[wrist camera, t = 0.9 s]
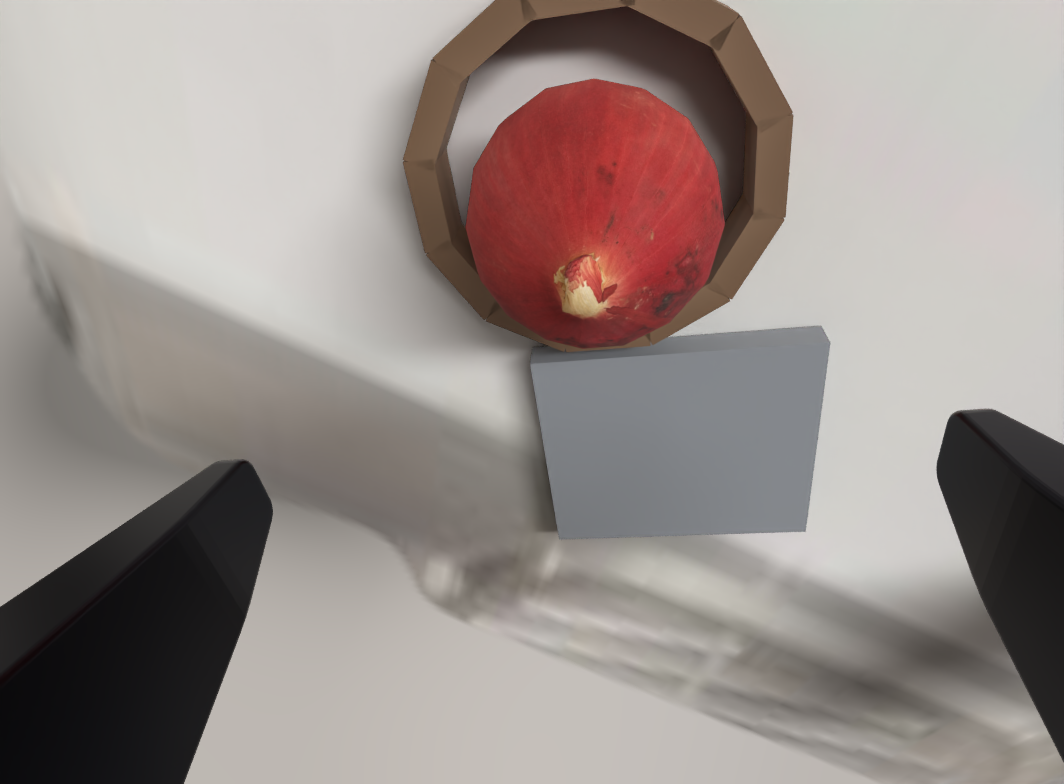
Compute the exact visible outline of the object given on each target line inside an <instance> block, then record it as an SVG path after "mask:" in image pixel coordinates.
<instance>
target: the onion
mask: <svg viewBox="0 0 1064 784" xmlns="http://www.w3.org/2000/svg"><path fill="white" fill-rule="evenodd" d="M724 226H725V221H724V214H723V207H722V200H721V193H720V185H719V178H718V171H717V168H716V165H715V162H714V160H713V159H712V157H711V155H710V154H709V152H708V150H707V149H706V147H705V145H704V144H703V142H702V140H701V139H700V137H699V135H698V134H697V132H696V130H695V129H694V127H693V125H692V124H691V122H690V121H689V119H688V118H687V117H685V116H684V115H682V114H681V113H679V112H678V111H676V110H675V109H673V108H672V107H670V106H669V105H667V104H666V103H664V102H663V101H661V100H660V99H658V98H657V97H656V96H654V95H653V94H651V93H650V92H648V91H647V90H645V89H642V88H638V87H634V86H629V85H624V84H619V83H614V82H609V81H604V80H599V79H590V80H585V81H580V82H575V83H570V84H565V85H560V86H555V87H551V88H546V89H544V90H543V91H542V92H540V93H539V94H538V95H537V96H535V97H534V98H533V99H531V100H530V101H529V102H527V103H526V104H525V105H523V106H522V107H521V108H519V109H518V110H517V111H515V112H514V113H513V114H511V115H510V116H509V117H507V118H506V119H505V120H504V121H503V122H502V123H501V124H500V125H499V126H498V127H497V129H496V131H495V133H494V134H493V136H492V138H491V139H490V141H489V143H488V144H487V146H486V148H485V150H484V151H483V153H482V155H481V156H480V158H479V160H478V161H477V163H476V165H475V166H474V168H473V176H472V183H471V191H470V198H469V206H468V213H467V220H466V227H465V228H466V231H467V235H468V239H469V242H470V246H471V250H472V253H473V257H474V261H475V264H476V268H477V272H478V274H479V277H480V280H481V282H482V283H483V284H484V285H485V287H486V288H487V289H488V291H489V292H490V293H491V295H492V296H493V297H494V299H495V300H496V301H497V302H498V304H499V305H500V306H501V308H502V309H503V310H504V312H505V313H506V314H507V315H508V316H509V317H511V318H512V319H514V320H515V321H517V322H518V323H520V324H522V325H523V326H525V327H526V328H528V329H529V330H531V331H533V332H534V333H536V334H537V335H539V336H541V337H542V338H544V339H545V340H549V341H553V342H557V343H561V344H565V345H570V346H574V347H578V348H582V349H586V348H599V347H611V346H623V345H626V344H628V343H630V342H632V341H634V340H636V339H638V338H640V337H642V336H644V335H646V334H648V333H650V332H652V331H654V330H656V329H658V328H660V327H662V326H664V325H666V324H668V323H670V322H671V321H672V320H673V318H674V317H675V316H676V315H677V314H678V313H679V312H680V311H681V310H682V309H683V308H684V306H685V305H686V304H687V303H688V302H689V301H690V300H691V299H692V298H693V297H694V296H695V294H696V293H697V292H698V291H699V290H700V289H701V288H702V287H703V286H704V285H705V283H706V281H707V279H708V278H709V275H710V272H711V269H712V265H713V262H714V259H715V255H716V252H717V249H718V245H719V242H720V239H721V235H722V232H723V229H724Z"/></svg>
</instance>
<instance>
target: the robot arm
mask: <svg viewBox="0 0 1064 784" xmlns="http://www.w3.org/2000/svg"><path fill="white" fill-rule="evenodd" d="M937 478H938V482H939V485H940V488H941V491H942V494H943V496H944V499H945V502H946V505H947V507H948V510H949V513H950V516H951V518H952V521H953V524H954V527H955V530H956V532H957V535H958V538H959V541H960V543H961V546H962V549H963V552H964V554H965V557H966V560H967V563H968V565H969V568H970V571H971V574H972V576H973V579H974V581H975V584H976V586H977V589H978V592H979V594H980V596H981V598H982V600H983V603H984V605H985V607H986V609H987V611H988V613H989V615H990V617H991V619H992V621H993V623H994V625H995V627H996V629H997V631H998V633H999V635H1000V637H1001V639H1002V641H1003V643H1004V645H1005V647H1006V649H1007V651H1008V653H1009V655H1010V657H1011V659H1012V661H1013V663H1014V665H1015V667H1016V669H1017V671H1018V673H1019V675H1020V677H1021V679H1022V681H1023V683H1024V685H1025V687H1026V689H1027V691H1028V693H1029V695H1030V697H1031V699H1032V701H1033V702H1034V704H1035V706H1036V708H1037V710H1038V712H1039V714H1040V716H1041V718H1042V720H1043V722H1044V724H1045V726H1046V728H1047V730H1048V732H1049V734H1050V736H1051V738H1052V740H1053V742H1054V744H1055V746H1056V748H1057V750H1058V752H1059V754H1060V756H1061V758H1062V760H1063V762H1064V445H1063V444H1061V443H1059V442H1057V441H1056V440H1054V439H1052V438H1050V437H1048V436H1046V435H1044V434H1042V433H1040V432H1038V431H1036V430H1034V429H1032V428H1030V427H1028V426H1026V425H1024V424H1022V423H1020V422H1018V421H1016V420H1014V419H1012V418H1010V417H1008V416H1006V415H1004V414H1002V413H1000V412H998V411H996V410H993V409H974V410H960V411H956V412H954V413H953V414H952V415H951V416H950V417H949V420H948V422H947V426H946V429H945V433H944V437H943V441H942V445H941V449H940V453H939V457H938V460H937ZM272 515H273V509H272V504H271V500H270V498H269V496H268V494H267V492H266V490H265V488H264V486H263V484H262V482H261V480H260V478H259V476H258V475H257V473H256V471H255V469H254V467H253V465H252V464H251V463H250V462H249V461H247V460H243V459H237V460H223V461H218V462H215V463H213V464H212V465H210V466H209V467H207V468H206V469H204V470H203V471H201V472H200V473H198V474H197V475H196V476H194V477H193V478H191V479H190V480H188V481H187V482H185V483H184V484H182V485H181V486H179V487H178V488H176V489H175V490H173V491H172V492H170V493H169V494H167V495H166V496H164V497H163V498H161V499H160V500H158V501H157V502H155V503H154V504H153V505H151V506H150V507H148V508H147V509H145V510H143V511H142V512H141V513H139V514H138V515H136V516H135V517H133V518H132V519H130V520H129V521H127V522H126V523H124V524H123V525H121V526H120V527H118V528H117V529H115V530H114V531H112V532H111V533H109V534H108V535H107V536H105V537H103V538H102V539H100V540H99V541H97V542H96V543H95V544H93V545H91V546H90V547H89V548H87V549H86V550H84V551H83V552H81V553H80V554H78V555H77V556H75V557H74V558H72V559H71V560H69V561H68V562H66V563H65V564H63V565H62V566H60V567H59V568H57V569H56V570H54V571H53V572H51V573H50V574H48V575H47V576H45V577H44V578H42V579H41V580H39V581H38V582H37V583H35V584H34V585H32V586H31V587H29V588H28V589H26V590H25V591H23V592H22V593H20V594H19V595H17V596H16V597H14V598H13V599H11V600H10V601H8V602H7V603H5V604H4V605H2V606H1V607H0V784H184V782H185V779H186V777H187V774H188V771H189V768H190V766H191V763H192V761H193V758H194V755H195V753H196V750H197V747H198V745H199V742H200V739H201V737H202V734H203V731H204V729H205V726H206V723H207V721H208V718H209V715H210V713H211V710H212V707H213V705H214V702H215V699H216V696H217V694H218V691H219V689H220V686H221V683H222V681H223V678H224V675H225V673H226V670H227V668H228V665H229V662H230V660H231V657H232V654H233V652H234V649H235V646H236V644H237V641H238V638H239V636H240V633H241V630H242V627H243V624H244V621H245V618H246V615H247V612H248V608H249V605H250V602H251V598H252V594H253V590H254V586H255V583H256V579H257V575H258V571H259V567H260V564H261V560H262V555H263V552H264V548H265V544H266V541H267V537H268V533H269V529H270V525H271V521H272Z"/></svg>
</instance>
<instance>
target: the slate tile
mask: <svg viewBox="0 0 1064 784" xmlns="http://www.w3.org/2000/svg"><path fill="white" fill-rule="evenodd" d="M650 344H651V346H644V347H630V348H617V349H603V350H590V351H576V352H566V349H565V351H564V352H563V351H560V350H558V349H555V348H553V347H550V346H546V347H533V349H532V355H531V361H530V367H531V373H532V379H533V385H534V391H535V397H536V403H537V409H538V415H539V421H540V427H541V433H542V439H543V445H544V451H545V457H546V463H547V469H548V475H549V481H550V487H551V493H552V499H553V505H554V511H555V517H556V523H557V529H558V535H559V539H588V538H619V537H650V536H681V535H713V534H744V533H775V532H806V524H807V517H808V509H809V501H810V494H811V486H812V478H813V471H814V463H815V455H816V448H817V440H818V432H819V425H820V417H821V409H822V402H823V394H824V386H825V379H826V371H827V363H828V356H829V348H830V341H829V339H828V337H827V335H826V334H825V332H824V330H823V328H822V326H811V327H798V328H784V329H771V330H758V331H745V332H731V333H718V334H705V335H692V336H678V337H667V338H665V339H663V340H661V341H660V342H658V343H656V344H654V345H652V343H651V342H650Z"/></svg>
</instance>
